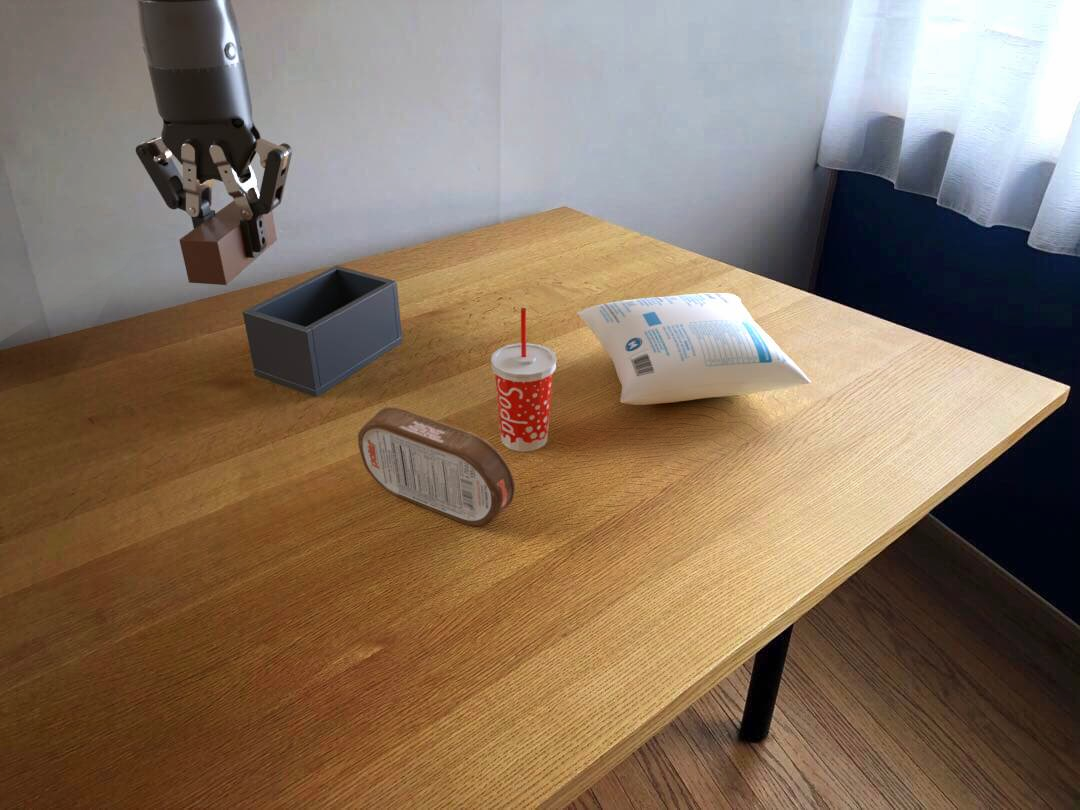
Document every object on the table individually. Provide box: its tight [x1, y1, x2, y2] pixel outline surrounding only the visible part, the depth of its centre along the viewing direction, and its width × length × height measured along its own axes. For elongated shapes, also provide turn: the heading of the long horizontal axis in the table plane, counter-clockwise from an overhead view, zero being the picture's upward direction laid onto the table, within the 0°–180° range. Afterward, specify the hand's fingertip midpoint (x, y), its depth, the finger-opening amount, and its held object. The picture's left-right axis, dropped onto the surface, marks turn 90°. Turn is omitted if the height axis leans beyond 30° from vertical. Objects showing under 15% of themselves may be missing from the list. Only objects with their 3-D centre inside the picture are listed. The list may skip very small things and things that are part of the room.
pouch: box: [576, 292, 812, 406], centre depth 93 cm, size 8×19×20 cm
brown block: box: [178, 200, 278, 286], centre depth 79 cm, size 11×4×4 cm, turn 172°
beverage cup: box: [490, 307, 557, 452], centre depth 81 cm, size 6×6×14 cm
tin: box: [357, 406, 516, 527], centre depth 73 cm, size 15×3×8 cm, turn 59°
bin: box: [242, 265, 403, 398], centre depth 96 cm, size 15×9×8 cm, turn 149°
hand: (234, 252), depth 80 cm, fingers closed on brown block, 3 cm apart
